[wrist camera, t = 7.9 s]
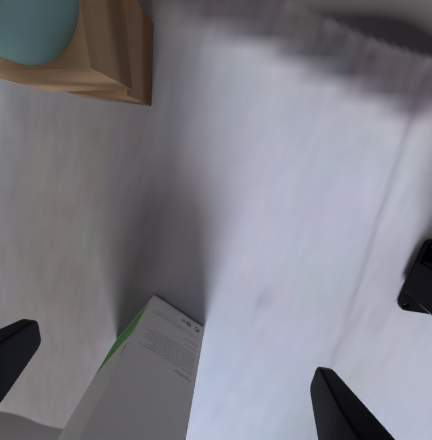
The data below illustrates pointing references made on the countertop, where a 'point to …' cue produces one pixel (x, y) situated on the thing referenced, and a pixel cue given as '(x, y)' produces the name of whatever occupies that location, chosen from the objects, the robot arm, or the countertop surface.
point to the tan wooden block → (83, 54)
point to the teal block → (36, 29)
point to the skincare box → (143, 381)
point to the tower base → (133, 59)
